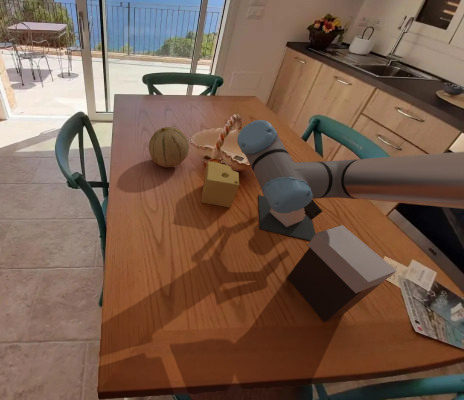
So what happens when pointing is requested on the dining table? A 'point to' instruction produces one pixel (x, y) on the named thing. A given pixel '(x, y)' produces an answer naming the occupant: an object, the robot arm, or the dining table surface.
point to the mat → (272, 224)
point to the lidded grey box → (338, 272)
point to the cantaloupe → (168, 147)
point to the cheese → (219, 184)
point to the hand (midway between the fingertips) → (296, 200)
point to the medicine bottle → (289, 216)
